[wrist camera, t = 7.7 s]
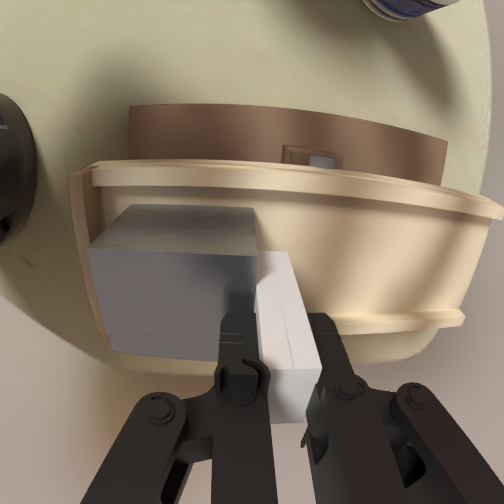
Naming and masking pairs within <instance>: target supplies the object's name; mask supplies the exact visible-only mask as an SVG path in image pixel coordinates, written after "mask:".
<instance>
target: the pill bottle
mask: <svg viewBox="0 0 504 504" xmlns="http://www.w3.org/2000/svg"><path fill="white" fill-rule="evenodd" d="M362 1H363V2H364V3H365V5H366V6H367V7H368V8H369V9H370V10H371V11H372V12H374V13H375V14H376V15H378V16H380V17H381V18H383V19H386V20H389V21H393V22H404V21H408V20H410V19H413V18H415V17H418V16H420V15H423V14H425V13H428V12H431V11H433V10H436V9H439V8H442V7H445V6H448V5H451V4H454V3H456V2H458V1H460V0H362Z"/></svg>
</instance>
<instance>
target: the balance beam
mask: <svg viewBox="0 0 504 504" xmlns="http://www.w3.org/2000/svg"><path fill="white" fill-rule="evenodd" d="M336 161H337V159H335V158H332V157H328V156H322V155H310V164H309V166H303V165H292V164H280V163H266V162H251V161H231V160H201V159H144V160H114V161H98V162H96V163H94V164H91V165H89V166H87V167H85V168H83V169H80V170H78V171H76V172H74V173H72V174H70V175H68V176H67V180H68V190H69V198H70V206H71V214H72V221H73V227H74V233H75V239H76V245H77V250H78V255H79V260H80V265H81V269H82V274H83V278H84V283H85V287H86V291H87V295H88V299H89V302H90V306H91V310H92V313H93V317H94V320H95V324H96V327H97V330H98V334H101V335H107V332H106V329H105V325H104V322H103V318H102V315H101V311H100V307H99V303H98V299H97V295H96V291H95V286H94V282H93V277H92V273H91V268H90V263H89V257H88V252H87V247H88V246H89V245H90V244H91V243H92V242H93V241H94V240H95V239H96V238H97V237H98V236H99V235H100V234H101V233H102V232H103V231H104V230H105V229H106V228H107V227H108V226H109V225H110V224H111V223H112V222H113V221H114V220H115V219H116V218H117V217H118V216H119V215H120V214H121V213H122V212H123V211H124V210H125V209H126V208H127V207H129V206H130V205H131V204H171V205H205V206H230V207H250V208H253V213H254V222H255V231H256V241H257V251H281V252H288V256H289V259H290V262H291V265H292V268H293V271H294V275H295V278H296V281H297V284H298V288H299V291H300V294H301V297H302V301H303V304H304V307H305V311H306V313H326V314H327V315H328V316H329V317H330V318H331V319H332V320H333V321H334V322H335V325H336V327H337V330H338V334H339V335H352V334H373V333H389V332H403V331H415V330H426V329H435V328H443V327H444V328H445V327H453V326H461V325H462V323H463V320H464V319H465V316H464V315H463V313H462V312H461V311H460V310H459V307H460V305H461V303H462V300H463V298H464V296H465V294H466V291H467V289H468V286H469V284H470V281H471V279H472V276H473V274H474V271H475V269H476V266H477V263H478V261H479V258H480V255H481V252H482V249H483V246H484V243H485V240H486V237H487V234H488V230H489V227H490V224H491V220H492V218H494V219H499V220H503V216H504V207H502V206H500V205H498V204H497V203H495V202H493V201H491V200H489V199H488V198H486V197H484V196H480V195H476V194H472V193H468V192H464V191H459V190H455V189H451V188H446V187H441V186H436V185H432V184H427V183H421V182H416V181H411V180H405V179H400V178H394V177H388V176H381V175H375V174H368V173H361V172H354V171H347V170H339V169H336Z"/></svg>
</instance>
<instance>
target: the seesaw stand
mask: <svg viewBox="0 0 504 504" xmlns="http://www.w3.org/2000/svg"><path fill="white" fill-rule="evenodd" d="M447 145H448V141H445V140H442V139H439V138H435V137H432V136H429V135H425V134H421V133H418V132H414V131H410V130H406V129H402V128H398V127H394V126H390V125H386V124H381V123H376V122H372V121H367V120H362V119H357V118H351V117H345V116H340V115H334V114H327V113H320V112H313V111H305V110H297V109H288V108H278V107H267V106H253V105H234V104H161V105H142V106H130V113H129V154H130V160H144V159H201V160H231V161H251V162H266V163H280V164H292V165H303V166H309V164H310V155H322V156H328V157H332V158H335V159H337V161H336V169H339V170H347V171H354V172H361V173H368V174H375V175H381V176H388V177H394V178H400V179H405V180H411V181H416V182H421V183H427V184H432V185H436V186H440V184H441V179H442V174H443V169H444V163H445V158H446V151H447Z"/></svg>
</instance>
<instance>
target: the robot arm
mask: <svg viewBox="0 0 504 504" xmlns="http://www.w3.org/2000/svg"><path fill="white" fill-rule="evenodd" d="M35 188H36V159H35V151H34V145H33V140H32V136H31V133H30V130H29V127H28V124H27V122H26V119H25V117H24V115H23V114H22V112H21V110H20V109H19V107H18V106H17V105H16V104H15V103H14V102H13V101H12V100H11V99H10V98H9V97H7V96H6V95H4V94H1V93H0V246H1V245H3V244H4V243H6V242H7V241H8V240H9V239H11V238H12V237H13V236H15V235H16V234H17V233H18V232H19V231H20V230H21V229H22V227H23V226H24V224H25V222H26V221H27V219H28V216H29V214H30V211H31V208H32V205H33V200H34V195H35ZM214 378H215V384H214V386H213V387H212V388H211V389H210V390H209V391H208V392H206V393H204V394H203V395H200V396H197V397H193V398H188V399H183V400H180V399H179V398H178V397H177V396H174V395H173V394H170V393H165V392H155V393H150V394H148V395H146V396H144V397H142V398H141V399H140V400H139V402H137V404H136V405H135V407H134V409H133V410H132V412H131V414H130V416H129V417H128V419H127V421H126V422H125V424H124V426H123V428H122V430H121V431H120V433H119V435H118V436H117V438H116V440H115V442H114V443H113V445H112V447H111V449H110V451H109V452H108V454H107V456H106V458H105V459H104V461H103V463H102V465H101V467H100V468H99V470H98V472H97V474H96V476H95V477H94V479H93V481H92V483H91V485H90V486H89V488H88V490H87V492H86V494H85V496H84V497H83V499H82V501H81V503H80V504H178V502H179V500H180V497H181V495H182V492H183V489H184V487H185V484H186V481H187V479H188V476H189V474H190V471H191V469H192V466H193V463H195V462H200V461H204V460H208V459H212V480H211V481H212V482H211V504H278V498H277V488H276V478H275V467H274V457H273V447H272V436H271V427H270V424H276V423H277V424H279V423H298V422H303V419H304V417H305V415H306V417H307V422H308V427H307V429H306V432H305V434H304V436H303V438H302V441H301V448H303V447H304V446H305V444H306V445H307V451H308V456H309V462H310V468H311V474H312V480H313V487H314V493H315V499H316V504H504V485H503V484H502V483H501V481H500V480H499V478H498V477H497V476H496V474H495V473H494V471H493V470H492V469H491V468H490V466H489V465H488V463H487V462H486V461H485V459H484V458H483V457H482V456H481V454H480V453H479V451H478V450H477V449H476V447H475V446H474V445H473V443H472V442H471V441H470V439H469V438H468V437H467V436H466V434H465V433H464V432H463V430H462V429H461V428H460V427H459V425H458V424H457V423H456V421H455V420H454V419H453V418H452V417H451V415H450V414H449V413H448V412H447V410H446V409H445V408H444V406H443V405H442V404H441V403H440V401H439V400H438V399H437V398H436V397H435V395H434V394H433V393H432V392H431V391H430V390H429V389H428V388H427V387H426V386H424V385H421V384H419V383H413V382H411V383H406V384H404V385H402V386H401V387H400V388H399V389H398V390H397V392H389V391H381V390H376V389H372V388H370V387H369V386H368V385H367V383H366V382H365V381H364V380H363V379H362V378H360V377H359V376H357V375H355V374H354V372H353V369H352V366H351V364H350V361H349V358H348V356H347V353H346V350H345V348H344V345H343V343H342V342H341V337H340V335H339V334H338V330H337V327H336V325H335V322H334V321H333V320H332V319H331V318H330V317H329V316H328V315H327V314H326V313H306V311H305V307H304V304H303V301H302V297H301V294H300V291H299V288H298V284H297V281H296V278H295V275H294V271H293V268H292V265H291V262H290V259H289V256H288V252H281V251H258V263H257V275H256V287H255V298H254V310H253V313H241V312H227V313H226V314H225V316H224V317H223V319H222V320H221V322H220V337H219V352H218V365H217V367H216V370H215V373H214Z"/></svg>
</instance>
